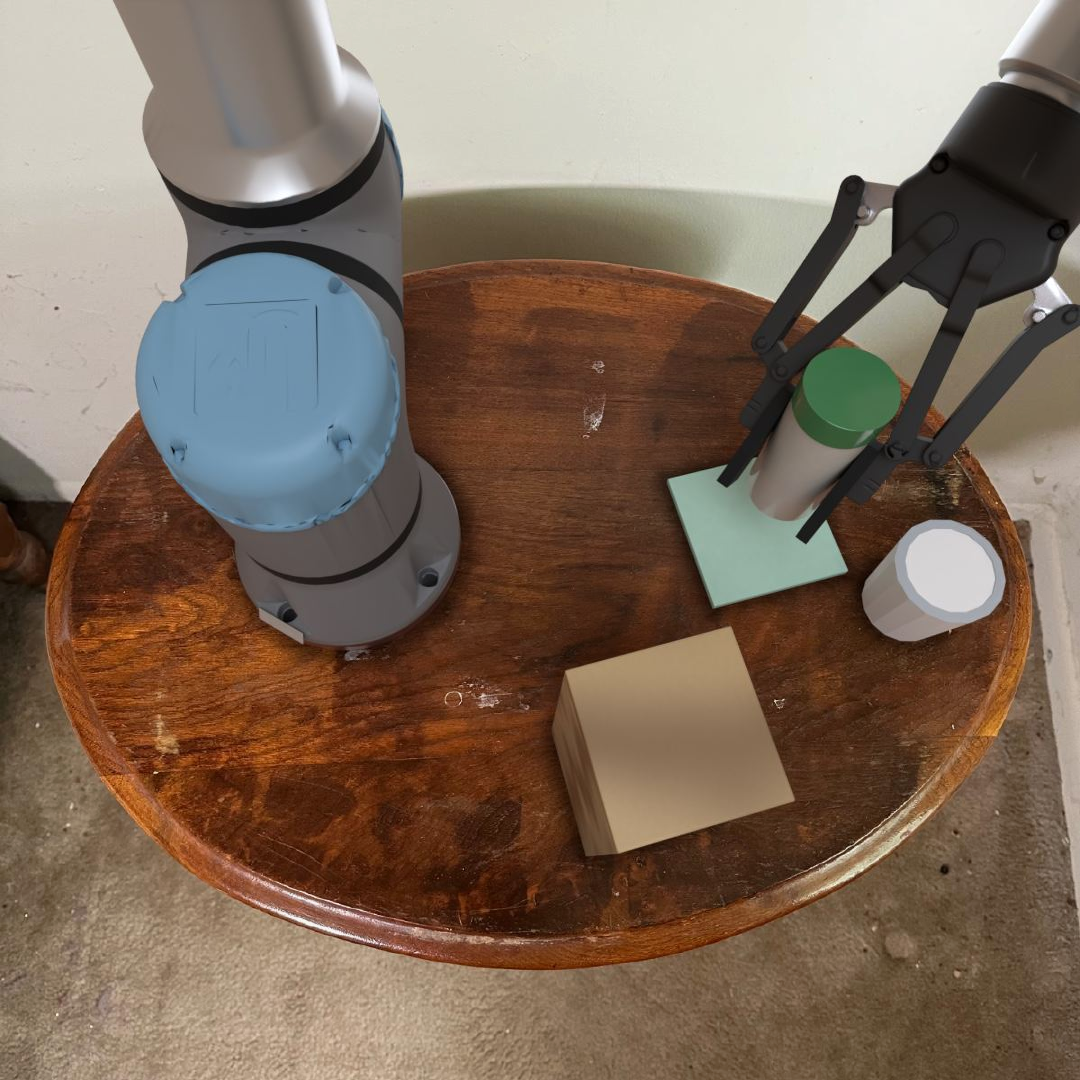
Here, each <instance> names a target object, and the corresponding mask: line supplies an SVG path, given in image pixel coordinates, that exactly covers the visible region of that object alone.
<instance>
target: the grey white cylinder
mask: <svg viewBox="0 0 1080 1080" xmlns="http://www.w3.org/2000/svg"><path fill="white" fill-rule="evenodd" d="M1002 561H1003V560H1002V559H1001V558H1000V556H999V553H998V552H997V551H996V550H995V547H994V546H993V545H992V543H991V542H990V541H989V540H988V539H986V538H985V537H984V536H983V535H982V534H981V533H979V532H978V531H976V530H975V529H974V528H973V527H972V526H968V525H966V524H962V523H960V522H958V521H955V520H952V519H929V520H926V521H924V522H921V523H919V524H916V525H914V526H913V525H912V526H911V527H910V529H908V530H907V532H906V533H905V534H904V535H903V536H902V537H901V539H900V540H898V542H897V543H896V544H895V545H894V546H893V548H892V549H891V550H890V551H889V552H888V554H887V555H886V556H885V557H884V558H883V559H882V561H880V563H879V564H878V565H877V567H876V568H874V570H873V571H872V573H871V574H869V576H868V577H867V579H865V582H864V585H863V589H862V592H861V598H862V606H863V607H862V608H863V611H864V613H865V614H866V616H867V617H868V619H869V621H870V623H871V625H873V626H874V627H875V629H877V630H878V631H879V632H881V633H882V634H883V635H885V636H886V637H888V638H892V639H894V640H896V641H899V642H918V641H921V640H924V639H926V638H930V637H934V636H936V635H939V634H942V633H945V632H948V631H950V630H953V629H957V628H959V627H962V626H965V625H968V624H971V623H973V622H974V623H975V622H976V621H978V620H980V619H984V618H985V617H987V616H990V615H991V613H992V612H993V611H995V609H996V607H997V606H998V605H999V604H1000V603H1001V602H1002V600H1003V596H1004V592H1005V591H1004V590H1005V587H1006V582H1007V580H1006V575H1005V571H1004V566H1003V562H1002Z"/></svg>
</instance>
